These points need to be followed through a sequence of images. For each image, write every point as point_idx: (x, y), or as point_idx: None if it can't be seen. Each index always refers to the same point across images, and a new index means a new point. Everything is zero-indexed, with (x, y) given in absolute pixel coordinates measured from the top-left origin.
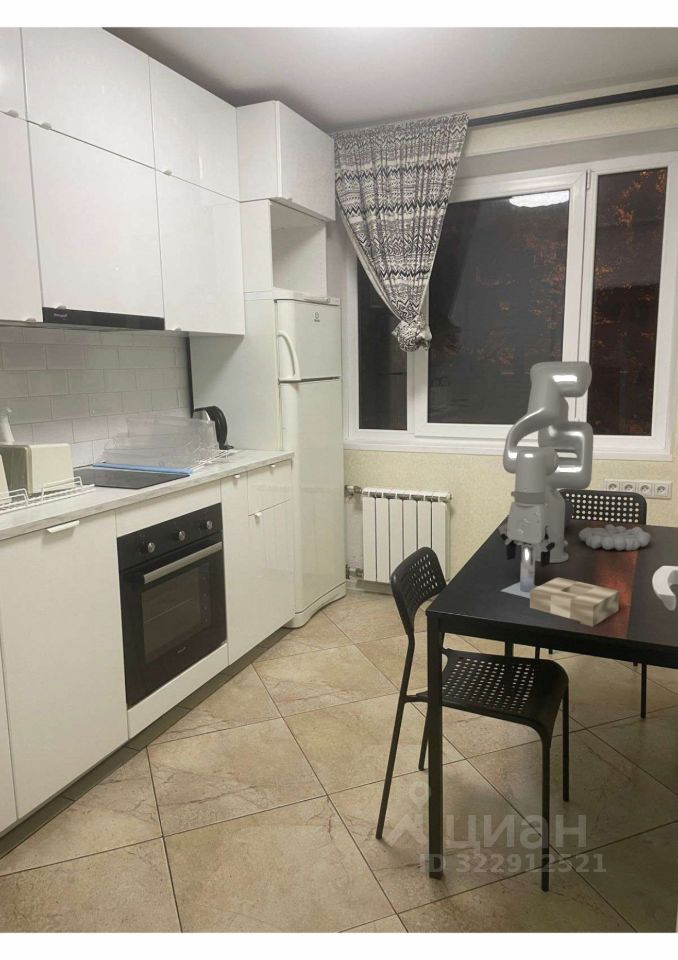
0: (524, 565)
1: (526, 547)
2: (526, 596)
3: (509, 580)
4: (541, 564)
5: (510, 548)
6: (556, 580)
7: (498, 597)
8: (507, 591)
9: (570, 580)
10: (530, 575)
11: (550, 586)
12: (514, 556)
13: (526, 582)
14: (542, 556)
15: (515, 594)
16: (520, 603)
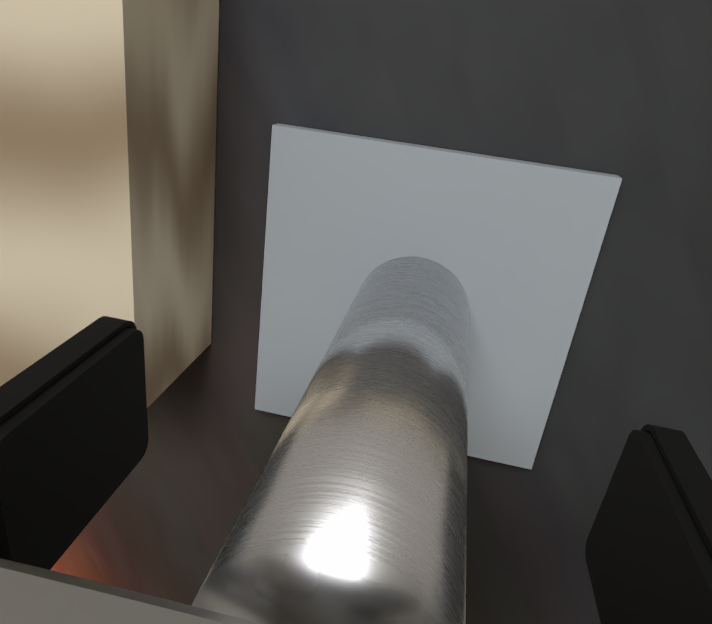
0: (387, 364)
1: (313, 582)
2: (356, 158)
3: None
4: (106, 329)
5: (691, 585)
6: None
7: (595, 39)
8: (550, 192)
9: None
10: (341, 331)
11: (38, 109)
12: (596, 549)
13: (385, 285)
14: (6, 387)
15: (457, 153)
16: (356, 4)
